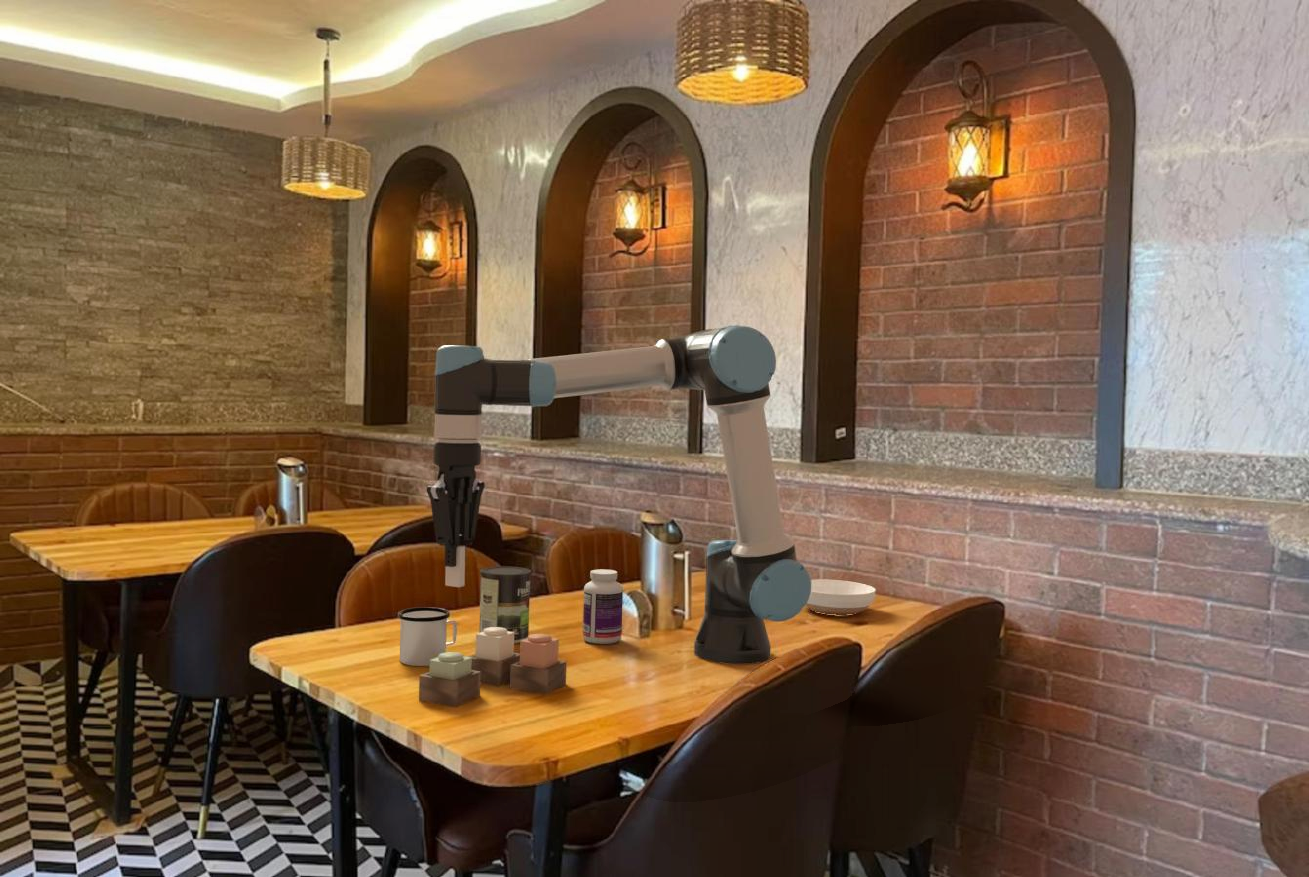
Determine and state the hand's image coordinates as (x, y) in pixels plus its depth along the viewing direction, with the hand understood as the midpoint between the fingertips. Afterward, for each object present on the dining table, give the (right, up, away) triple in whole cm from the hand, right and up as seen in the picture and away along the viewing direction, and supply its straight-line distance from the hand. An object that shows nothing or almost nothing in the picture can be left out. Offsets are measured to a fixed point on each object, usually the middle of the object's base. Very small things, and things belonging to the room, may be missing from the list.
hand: (454, 585), depth 158 cm
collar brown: (+13, -19, +9) cm, 24 cm away
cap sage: (-1, -18, +1) cm, 18 cm away
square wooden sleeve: (+4, -18, +12) cm, 22 cm away
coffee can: (+2, -17, +41) cm, 44 cm away
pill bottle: (+22, -18, +42) cm, 51 cm away
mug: (-10, -18, +23) cm, 30 cm away
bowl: (+77, -19, +80) cm, 112 cm away
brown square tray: (-1, -18, +1) cm, 19 cm away
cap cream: (+4, -16, +12) cm, 21 cm away
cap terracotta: (+13, -17, +9) cm, 23 cm away
